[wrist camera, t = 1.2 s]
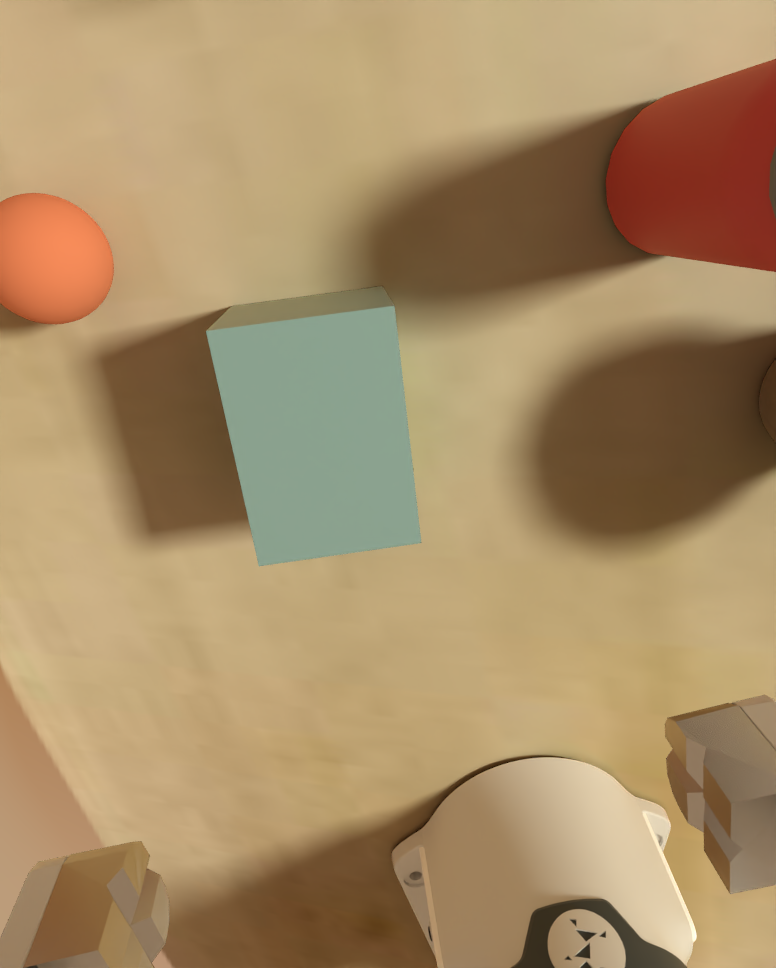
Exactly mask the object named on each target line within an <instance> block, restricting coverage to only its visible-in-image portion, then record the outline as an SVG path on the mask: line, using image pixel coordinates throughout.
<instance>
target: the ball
mask: <svg viewBox="0 0 776 968" xmlns="http://www.w3.org/2000/svg"><path fill="white" fill-rule="evenodd" d="M113 273H114V264H113V257H112V252H111V249H110V246H109V243H108V241H107V239H106V237H105V235H104V233H103V232H102V230H101V228H100V227H99V226H98V225H97V223H96V222H95V221H94V220H93V219H92V218H91V217H90V216H89V215H88V214H87V213H86V212H84V211H83V210H82V209H80V208H79V207H77V206H76V205H74V204H73V203H71V202H68V201H66V200H64V199H62V198H59V197H56V196H52V195H47V194H40V193H28V194H21V195H16V196H13V197H10V198H7V199H5V200H3V201H2V202H0V303H1V304H2V305H3V306H4V307H6V308H7V309H8V310H10V311H12V312H13V313H15V314H17V315H19V316H21V317H23V318H26V319H28V320H31V321H34V322H39V323H45V324H64V323H68V322H73V321H76V320H79V319H81V318H83V317H85V316H87V315H89V314H90V313H91V312H93V311H94V310H95V309H96V308H97V307H98V306H99V305H100V304H101V303H102V302H103V300H104V299H105V298H106V296H107V294H108V292H109V290H110V287H111V284H112V280H113Z"/></svg>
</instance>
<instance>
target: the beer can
mask: <svg viewBox="0 0 776 968" xmlns="http://www.w3.org/2000/svg"><path fill="white" fill-rule="evenodd" d="M606 192H607V205H608V208H609V211H610V213H611V216H612V219H613V221H614V224H615V226H616V228H617V229H618V230H619V231H620V232H621V233H622V235H623V236H624V237H625V238H626V239H627V240H628V242H629V243H631V244H632V245H634V246H636V247H638V248H640V249H642V250H644V251H645V252H647V253H651V254H658V255H665V256H672V257H679V258H685V259H692V260H699V261H706V262H712V263H719V264H726V265H733V266H739V267H746V268H753V269H760V270H766V271H774V272H776V59H774V60H771V61H768V62H765V63H762V64H759V65H756V66H753V67H750V68H747V69H744V70H741V71H738V72H735V73H732V74H729V75H726V76H723V77H720V78H717V79H714V80H711V81H708V82H705V83H702V84H699V85H696V86H693V87H690V88H687V89H684V90H681V91H678V92H675V93H672V94H669V95H666V96H664V97H662V98H661V99H659V100H657V101H656V102H654V103H652V104H651V105H649V106H647V107H646V108H644V109H643V110H642V111H641V112H640V113H639V114H638V115H637V116H636V117H635V118H634V119H633V120H632V121H631V122H630V124H629V125H628V126H627V127H626V128H625V129H624V131H623V133H622V135H621V136H620V138H619V140H618V142H617V144H616V146H615V148H614V150H613V152H612V154H611V158H610V163H609V167H608V172H607V176H606Z"/></svg>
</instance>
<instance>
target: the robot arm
mask: <svg viewBox="0 0 776 968" xmlns="http://www.w3.org/2000/svg"><path fill="white" fill-rule="evenodd" d="M665 737H666V739H667V740H668V742H669V744H670V745H671V747H672V748H673V749H672V751H671V752H670V753H669V755H668V756H667V758H666V763H667V775H668V778H669V782H670V785H671V789H672V792H673V795H674V797H675V799H676V801H677V804H678V806H679V808H680V810H681V812H682V813H683V815H684V817H685V819H686V820H687V822H688V823H689V824H690V825H692V826H694V827H695V828H697V829H699V830H700V831H702V832H703V833H704V851H705V853H706V855H707V856H708V858H709V860H710V861H711V863H712V865H713V866H714V868H715V870H716V871H717V873H718V875H719V876H720V878H721V880H722V881H723V883H724V885H725V886H726V888H727V890H728V891H729V893H730V894H733V893H738V892H743V891H748V890H753V889H758V888H763V887H768V886H773V885H776V702H775V701H774V700H773V699H772V698H770V697H768V696H766V695H762V696H757V697H753V698H749V699H745V700H740V701H736V702H732V703H726V704H722V705H718V706H714V707H709V708H705V709H701V710H697V711H693V712H689V713H685V714H681V715H677V716H673V717H668V718H667V720H666V723H665ZM670 828H671V824H670V821H669V819H668V816H667V814H666V811H665V810H664V809H663V808H662V807H661V806H659V805H657V804H655V803H653V802H650V801H647V800H644V799H641V798H638V797H635V796H633V795H632V794H630V793H629V792H628V791H627V790H626V789H625V788H624V787H623V786H622V785H621V784H620V783H619V782H618V781H617V780H616V779H614V778H613V777H612V776H611V775H609V774H608V773H606V772H605V771H603V770H601V769H599V768H597V767H595V766H593V765H590V764H587V763H584V762H581V761H577V760H572V759H566V758H553V757H542V758H530V759H523V760H518V761H514V762H509V763H506V764H503V765H500V766H497V767H494V768H491V769H489V770H487V771H484V772H482V773H480V774H478V775H476V776H475V777H473V778H471V779H470V780H468V781H466V782H465V783H463V784H462V785H461V786H459V787H458V788H457V789H456V790H454V791H453V792H452V793H451V794H450V795H449V796H448V797H447V798H446V799H445V800H444V801H443V802H442V803H441V804H440V806H439V807H438V808H437V810H436V811H435V813H434V814H433V816H432V817H431V818H430V820H429V821H428V822H427V824H426V825H425V826H424V827H423V828H422V829H421V830H419V831H417V832H416V833H414V834H413V835H411V836H410V837H408V838H407V839H405V840H404V841H403V842H401V843H400V844H399V845H398V846H397V847H396V848H395V849H394V850H393V852H392V855H391V856H392V862H393V867H394V871H395V874H396V876H397V878H398V880H399V882H400V884H401V886H402V888H403V890H404V892H405V895H406V897H407V899H408V901H409V903H410V905H411V907H412V909H413V911H414V913H415V916H416V918H417V920H418V922H419V924H420V926H421V928H422V930H423V932H424V934H425V937H426V939H427V941H428V943H429V945H430V947H431V949H432V951H433V953H434V955H435V958H436V961H437V967H438V968H687V967H686V964H687V961H688V960H689V958H690V956H691V954H692V949H693V942H694V941H695V940H696V931H695V927H694V924H693V921H692V919H691V917H690V914H689V912H688V910H687V907H686V905H685V903H684V900H683V898H682V896H681V893H680V891H679V889H678V887H677V884H676V882H675V880H674V877H673V875H672V873H671V870H670V868H669V866H668V864H667V861H666V859H665V857H664V855H663V850H664V847H665V844H666V841H667V838H668V835H669V832H670ZM149 857H150V855H149V853H148V852H147V850H146V848H145V847H144V845H143V843H142V842H141V841H138V842H130V843H125V844H120V845H115V846H110V847H105V848H100V849H95V850H90V851H86V852H81V853H76V854H71V855H68V856H63V857H58V858H53V859H49V860H44V861H39V862H38V863H37V864H36V865H35V866H34V867H33V868H32V870H31V871H30V872H29V873H28V875H27V878H26V880H25V882H24V885H23V887H22V889H21V892H20V894H19V896H18V899H17V901H16V903H15V906H14V908H13V910H12V913H11V915H10V917H9V919H8V922H7V924H6V927H5V929H4V931H3V933H2V936H1V938H0V968H154V966H153V965H152V962H153V960H154V959H155V957H156V956H157V955H158V953H159V952H160V951H161V949H162V948H163V947H164V945H165V944H166V939H167V933H168V928H169V898H168V893H167V889H166V885H165V884H164V882H163V880H162V878H161V876H160V875H159V874H157V873H155V872H153V871H151V870H149V869H147V865H148V861H149Z"/></svg>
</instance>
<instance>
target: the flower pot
mask: <svg viewBox="0 0 776 968" xmlns="http://www.w3.org/2000/svg"><path fill="white" fill-rule="evenodd" d="M759 410H760V415H761V419H762V422H763V425H764V426H765V428H766V430H767V431H768V433H769V434H770V436H771V437H772V439H773V440H774V442H775V443H776V359H775V360H774V362H773V363H772V365H771V366H770V368H769V369H768V371H767V373H766V375H765V378H764V380H763V383H762V386H761V390H760V396H759Z"/></svg>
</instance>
